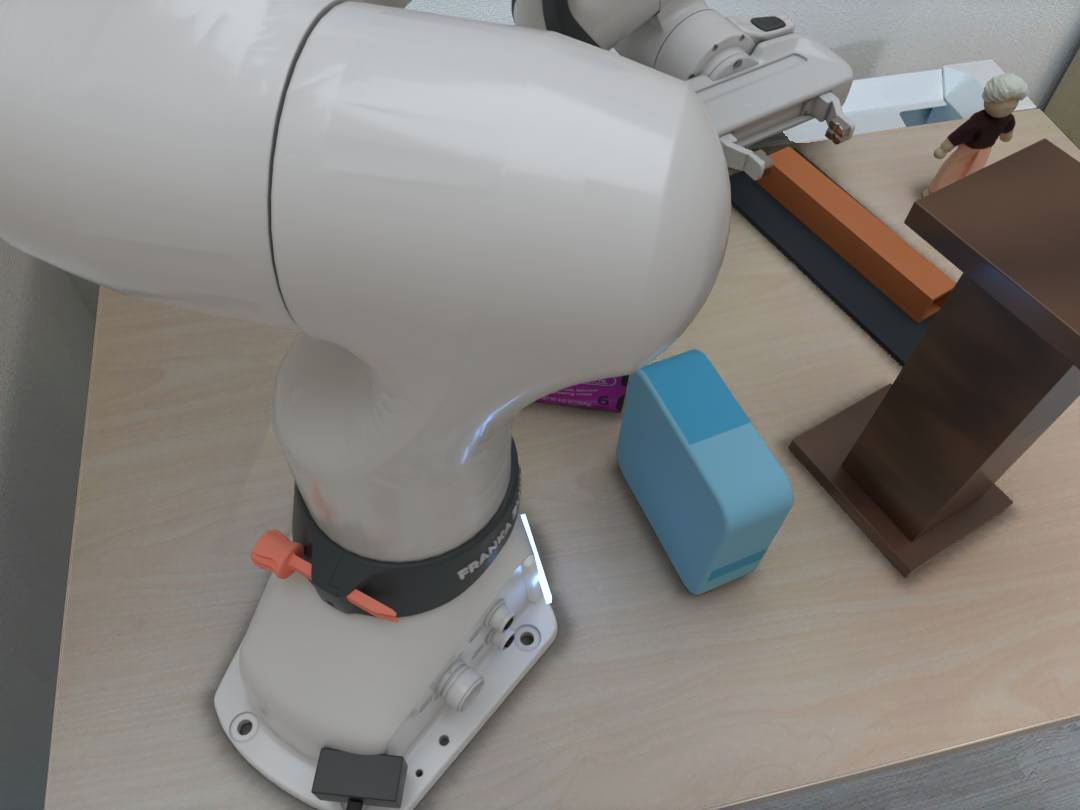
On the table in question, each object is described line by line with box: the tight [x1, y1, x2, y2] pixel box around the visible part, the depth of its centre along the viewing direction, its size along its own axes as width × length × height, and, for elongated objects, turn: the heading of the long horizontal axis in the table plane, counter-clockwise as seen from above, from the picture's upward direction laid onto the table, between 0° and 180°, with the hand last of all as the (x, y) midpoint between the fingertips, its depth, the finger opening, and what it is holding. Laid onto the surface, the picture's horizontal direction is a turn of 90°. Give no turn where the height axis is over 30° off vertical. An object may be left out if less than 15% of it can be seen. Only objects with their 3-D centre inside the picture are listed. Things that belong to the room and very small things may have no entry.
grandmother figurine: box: [921, 72, 1029, 198], centre depth 73 cm, size 8×4×13 cm, turn 121°
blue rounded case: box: [616, 349, 795, 596], centre depth 54 cm, size 12×4×12 cm, turn 23°
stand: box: [787, 138, 1080, 578], centre depth 51 cm, size 12×10×24 cm
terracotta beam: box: [757, 145, 957, 323], centre depth 72 cm, size 20×3×3 cm, turn 33°
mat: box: [729, 147, 938, 368], centre depth 73 cm, size 26×10×1 cm, turn 32°
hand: (807, 153), depth 73 cm, fingers open, 8 cm apart
